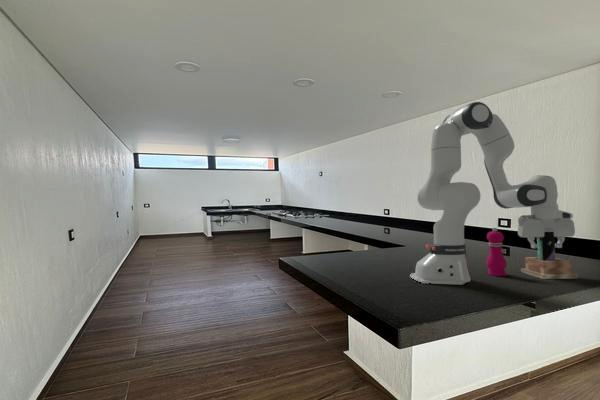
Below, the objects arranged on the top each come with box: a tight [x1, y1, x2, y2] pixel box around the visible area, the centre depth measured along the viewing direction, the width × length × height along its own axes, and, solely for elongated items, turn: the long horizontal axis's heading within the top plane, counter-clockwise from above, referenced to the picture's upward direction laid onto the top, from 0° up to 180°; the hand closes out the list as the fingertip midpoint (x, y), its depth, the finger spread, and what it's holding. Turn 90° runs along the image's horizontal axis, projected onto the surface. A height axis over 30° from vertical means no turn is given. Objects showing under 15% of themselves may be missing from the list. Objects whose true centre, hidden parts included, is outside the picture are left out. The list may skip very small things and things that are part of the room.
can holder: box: [520, 256, 580, 280], centre depth 121 cm, size 13×13×6 cm
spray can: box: [536, 228, 556, 261], centre depth 122 cm, size 6×6×20 cm
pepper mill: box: [486, 226, 508, 277], centre depth 125 cm, size 7×7×20 cm
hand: (546, 248), depth 121 cm, fingers open, 8 cm apart
